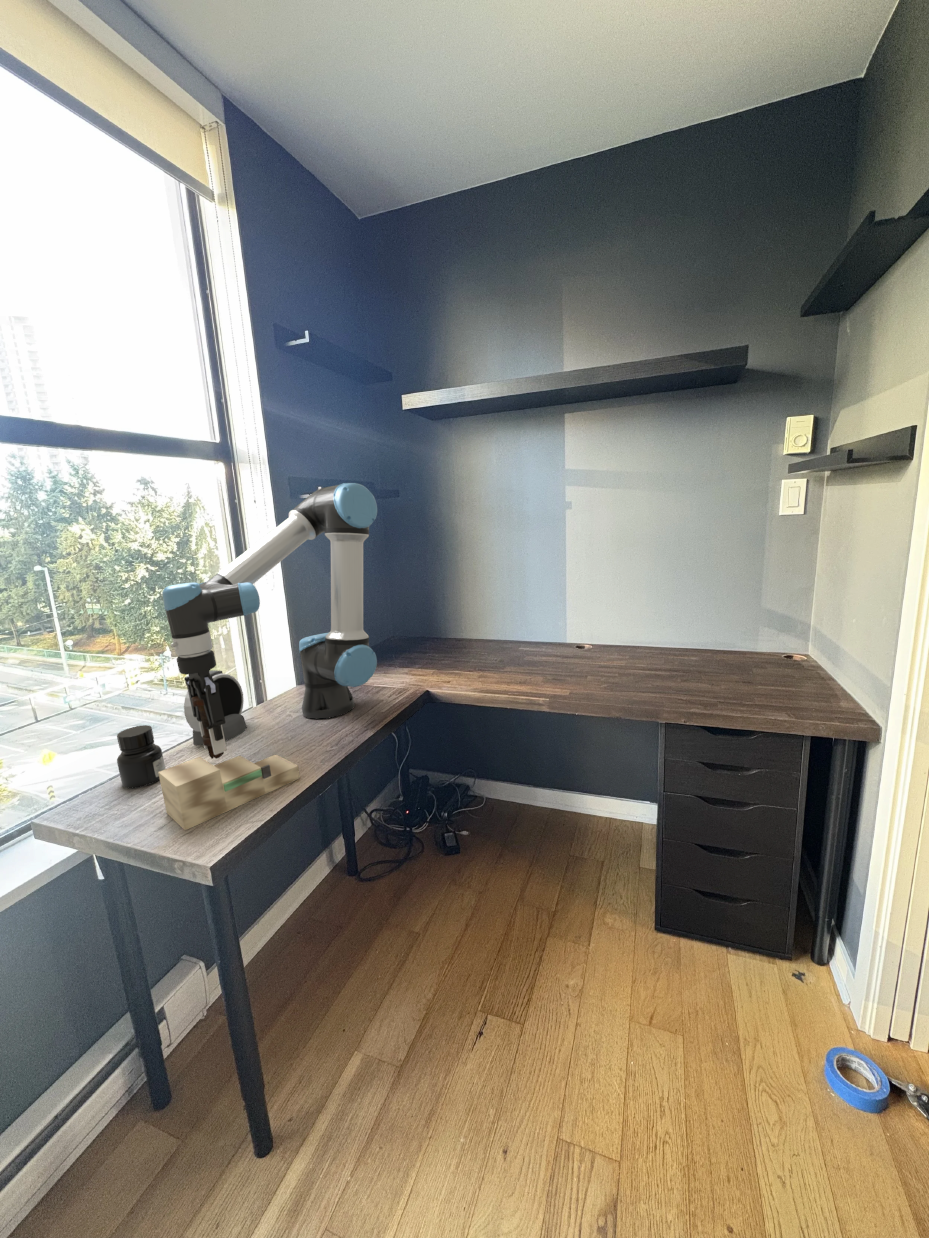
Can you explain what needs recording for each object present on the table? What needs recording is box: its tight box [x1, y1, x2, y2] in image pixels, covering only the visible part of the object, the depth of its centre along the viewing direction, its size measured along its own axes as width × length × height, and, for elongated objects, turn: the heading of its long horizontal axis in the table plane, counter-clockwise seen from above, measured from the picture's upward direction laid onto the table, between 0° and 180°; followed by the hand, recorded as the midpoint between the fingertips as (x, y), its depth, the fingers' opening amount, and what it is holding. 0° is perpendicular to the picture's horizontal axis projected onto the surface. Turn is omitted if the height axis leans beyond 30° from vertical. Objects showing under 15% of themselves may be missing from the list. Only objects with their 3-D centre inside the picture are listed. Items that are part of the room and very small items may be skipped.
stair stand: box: [158, 754, 301, 831], centre depth 111 cm, size 24×11×9 cm, turn 137°
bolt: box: [192, 694, 225, 760], centre depth 121 cm, size 6×5×15 cm
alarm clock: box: [183, 669, 248, 746], centre depth 144 cm, size 16×10×18 cm, turn 161°
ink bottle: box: [116, 724, 166, 789], centre depth 121 cm, size 10×9×12 cm
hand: (215, 749), depth 123 cm, fingers closed on bolt, 5 cm apart
